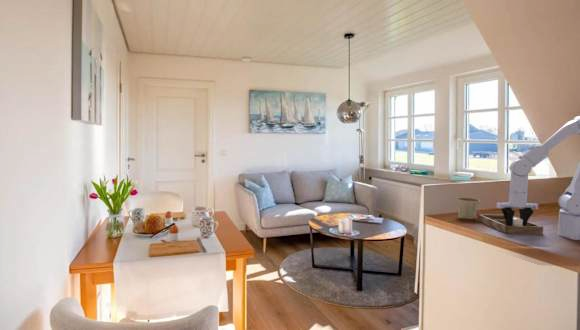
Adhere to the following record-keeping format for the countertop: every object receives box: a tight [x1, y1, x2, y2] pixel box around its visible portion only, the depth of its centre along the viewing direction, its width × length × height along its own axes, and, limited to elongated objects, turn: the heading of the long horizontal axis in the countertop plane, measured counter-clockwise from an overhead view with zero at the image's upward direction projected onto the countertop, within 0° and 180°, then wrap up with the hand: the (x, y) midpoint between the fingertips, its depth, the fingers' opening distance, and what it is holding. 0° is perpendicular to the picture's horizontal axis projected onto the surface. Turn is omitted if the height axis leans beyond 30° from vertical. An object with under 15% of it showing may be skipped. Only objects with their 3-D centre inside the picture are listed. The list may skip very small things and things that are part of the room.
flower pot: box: [455, 197, 481, 220], centre depth 165 cm, size 9×9×9 cm
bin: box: [477, 213, 544, 235], centre depth 148 cm, size 20×14×4 cm, turn 1°
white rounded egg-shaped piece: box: [512, 217, 523, 226], centre depth 143 cm, size 4×4×4 cm
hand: (515, 227), depth 143 cm, fingers closed on white rounded egg-shaped piece, 4 cm apart
